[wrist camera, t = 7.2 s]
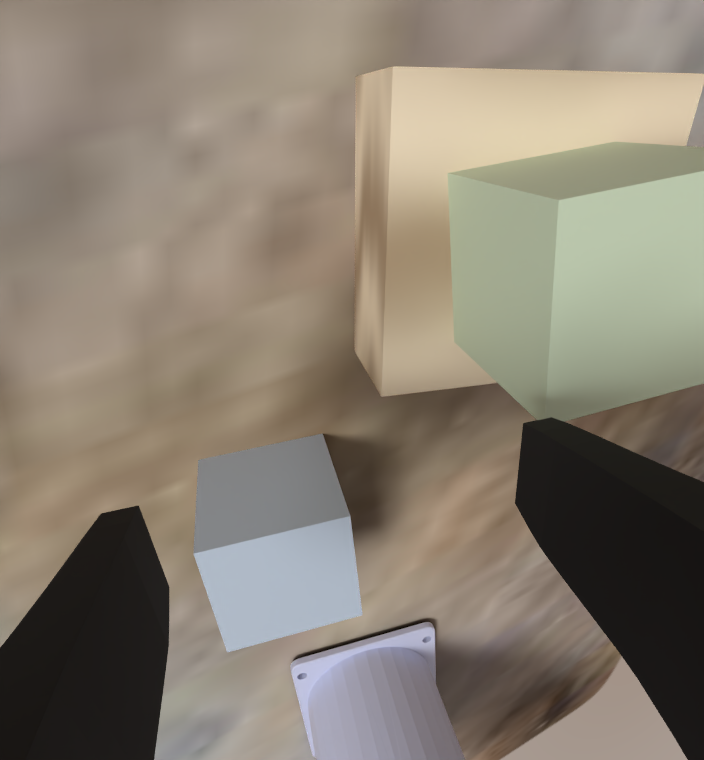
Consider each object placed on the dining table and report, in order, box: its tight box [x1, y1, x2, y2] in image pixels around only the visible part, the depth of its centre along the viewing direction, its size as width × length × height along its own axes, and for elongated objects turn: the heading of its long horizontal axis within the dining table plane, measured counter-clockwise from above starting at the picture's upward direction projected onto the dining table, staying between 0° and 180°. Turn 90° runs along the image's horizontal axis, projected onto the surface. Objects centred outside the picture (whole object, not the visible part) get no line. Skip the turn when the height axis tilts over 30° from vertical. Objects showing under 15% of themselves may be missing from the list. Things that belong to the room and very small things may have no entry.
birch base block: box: [355, 67, 704, 397], centre depth 17 cm, size 9×9×4 cm
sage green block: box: [448, 142, 704, 422], centre depth 13 cm, size 5×5×5 cm
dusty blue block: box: [194, 434, 362, 652], centre depth 19 cm, size 5×5×5 cm
